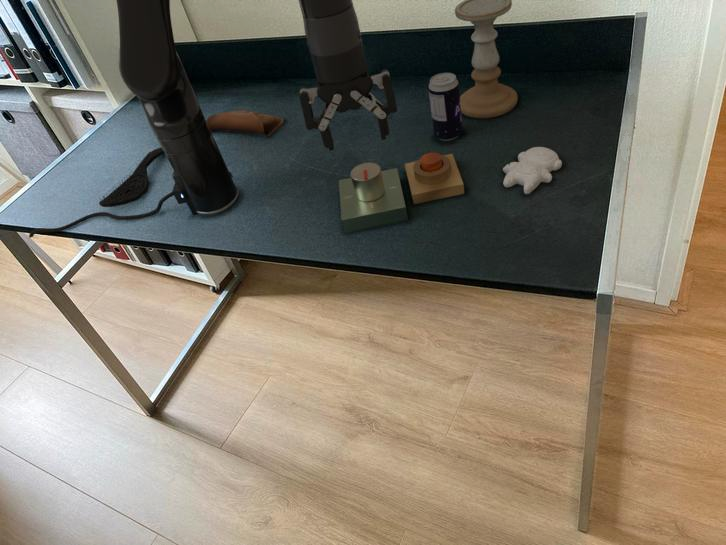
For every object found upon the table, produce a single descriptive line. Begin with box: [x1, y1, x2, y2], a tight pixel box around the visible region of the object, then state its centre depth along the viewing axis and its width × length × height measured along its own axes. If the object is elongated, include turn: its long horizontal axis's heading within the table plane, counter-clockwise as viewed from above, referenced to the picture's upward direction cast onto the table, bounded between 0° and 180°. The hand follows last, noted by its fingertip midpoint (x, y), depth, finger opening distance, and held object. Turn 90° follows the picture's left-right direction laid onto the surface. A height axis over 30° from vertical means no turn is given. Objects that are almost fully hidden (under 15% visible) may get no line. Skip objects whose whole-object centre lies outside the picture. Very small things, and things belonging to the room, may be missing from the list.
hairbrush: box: [98, 146, 165, 208], centre depth 119 cm, size 8×4×25 cm
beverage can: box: [427, 72, 464, 142], centre depth 103 cm, size 6×6×12 cm
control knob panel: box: [338, 167, 409, 234], centre depth 95 cm, size 11×12×3 cm
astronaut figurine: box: [502, 146, 563, 195], centre depth 92 cm, size 9×12×3 cm
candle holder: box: [454, 0, 519, 119], centre depth 106 cm, size 12×12×20 cm
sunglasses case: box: [206, 110, 285, 137], centre depth 127 cm, size 18×7×7 cm
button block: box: [404, 153, 465, 205], centre depth 96 cm, size 9×10×4 cm
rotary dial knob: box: [349, 162, 385, 202], centre depth 92 cm, size 5×5×5 cm
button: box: [420, 151, 442, 172], centre depth 94 cm, size 4×4×2 cm
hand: (357, 142), depth 86 cm, fingers open, 8 cm apart
